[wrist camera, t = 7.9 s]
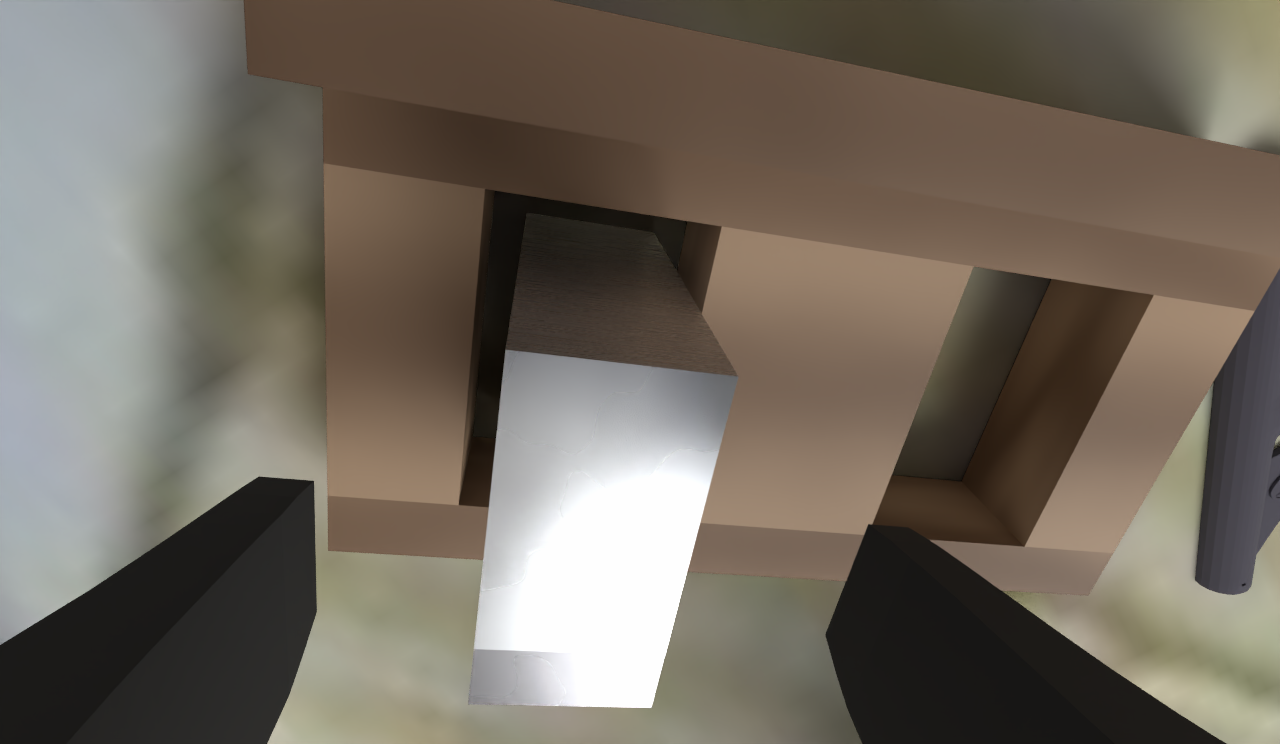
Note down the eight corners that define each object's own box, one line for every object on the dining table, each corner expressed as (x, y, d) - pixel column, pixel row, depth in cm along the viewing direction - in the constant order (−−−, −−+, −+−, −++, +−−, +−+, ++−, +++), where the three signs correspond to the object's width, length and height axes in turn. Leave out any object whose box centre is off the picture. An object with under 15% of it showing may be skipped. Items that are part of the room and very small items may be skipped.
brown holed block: (1020, 527, 21) (1179, 686, 16) (362, 475, 18) (279, 658, 12) (1206, 158, 17) (1518, 206, 11) (368, -16, 13) (239, -67, 8)
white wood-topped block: (612, 453, 18) (651, 707, 11) (501, 443, 18) (468, 704, 11) (653, 232, 16) (738, 376, 9) (526, 212, 15) (505, 349, 8)
